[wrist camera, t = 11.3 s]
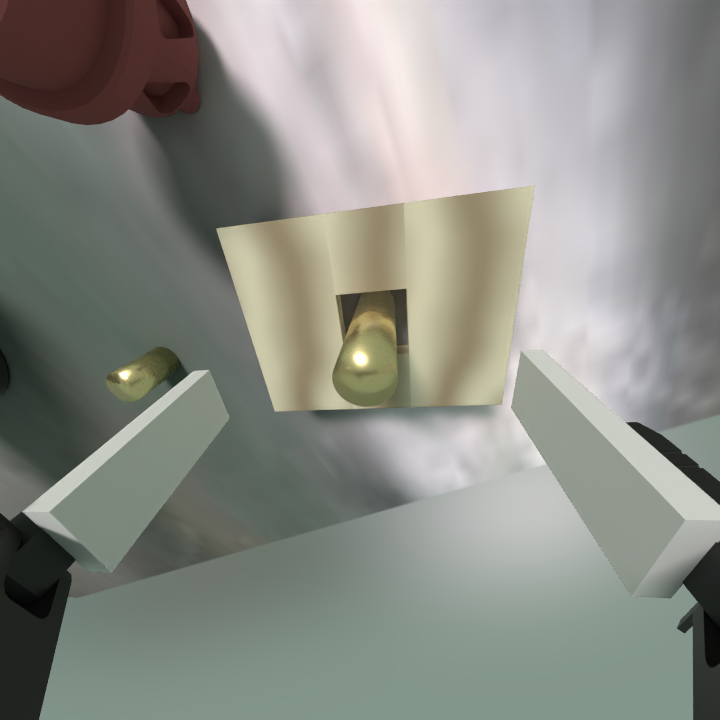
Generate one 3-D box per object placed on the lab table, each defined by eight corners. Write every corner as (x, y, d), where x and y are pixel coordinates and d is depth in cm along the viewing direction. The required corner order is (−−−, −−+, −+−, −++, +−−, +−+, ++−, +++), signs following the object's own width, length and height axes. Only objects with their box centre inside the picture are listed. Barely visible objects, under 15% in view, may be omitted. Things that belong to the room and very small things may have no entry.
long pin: (361, 322, 24) (337, 407, 13) (356, 287, 23) (327, 352, 12) (395, 319, 24) (399, 405, 13) (393, 284, 22) (395, 348, 12)
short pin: (159, 373, 29) (117, 402, 24) (145, 348, 28) (99, 373, 23) (184, 372, 28) (147, 401, 24) (172, 346, 27) (129, 371, 23)
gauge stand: (293, 379, 27) (275, 411, 23) (252, 225, 21) (215, 228, 17) (482, 370, 25) (501, 404, 21) (500, 192, 19) (534, 185, 14)
